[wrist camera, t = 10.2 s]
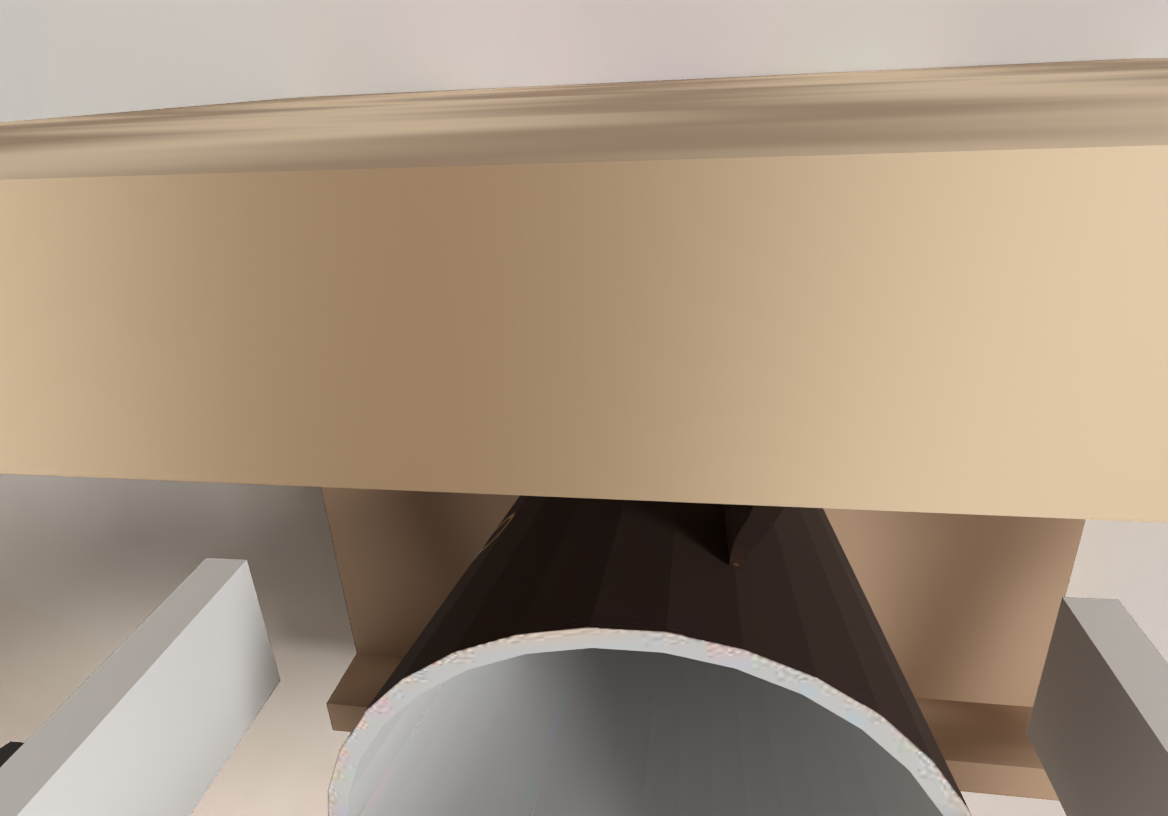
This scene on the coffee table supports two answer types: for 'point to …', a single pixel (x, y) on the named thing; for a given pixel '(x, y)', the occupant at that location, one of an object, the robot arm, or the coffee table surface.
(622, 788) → the coffee mug
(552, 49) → the coffee table surface
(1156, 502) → the light brown blocky piece
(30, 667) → the coffee table surface
